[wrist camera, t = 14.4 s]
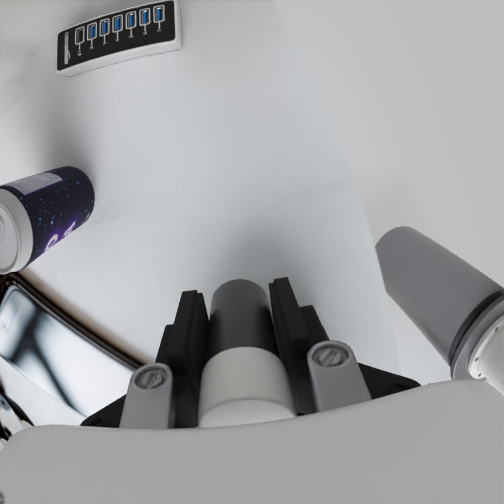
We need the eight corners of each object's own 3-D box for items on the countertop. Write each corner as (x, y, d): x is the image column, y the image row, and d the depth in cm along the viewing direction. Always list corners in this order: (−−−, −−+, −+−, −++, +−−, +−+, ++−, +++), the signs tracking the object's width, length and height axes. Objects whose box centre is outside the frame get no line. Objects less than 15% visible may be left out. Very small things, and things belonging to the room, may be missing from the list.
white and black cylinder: (266, 272, 13) (296, 389, 6) (272, 324, 13) (299, 446, 7) (203, 281, 12) (185, 403, 6) (215, 332, 13) (209, 456, 7)
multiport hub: (182, 49, 21) (178, 41, 19) (66, 78, 20) (54, 74, 18) (180, 7, 19) (176, -3, 17) (67, 37, 19) (55, 31, 17)
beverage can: (41, 205, 24) (-39, 249, 13) (62, 154, 23) (-24, 175, 12) (83, 235, 26) (14, 296, 15) (108, 184, 25) (34, 222, 13)
